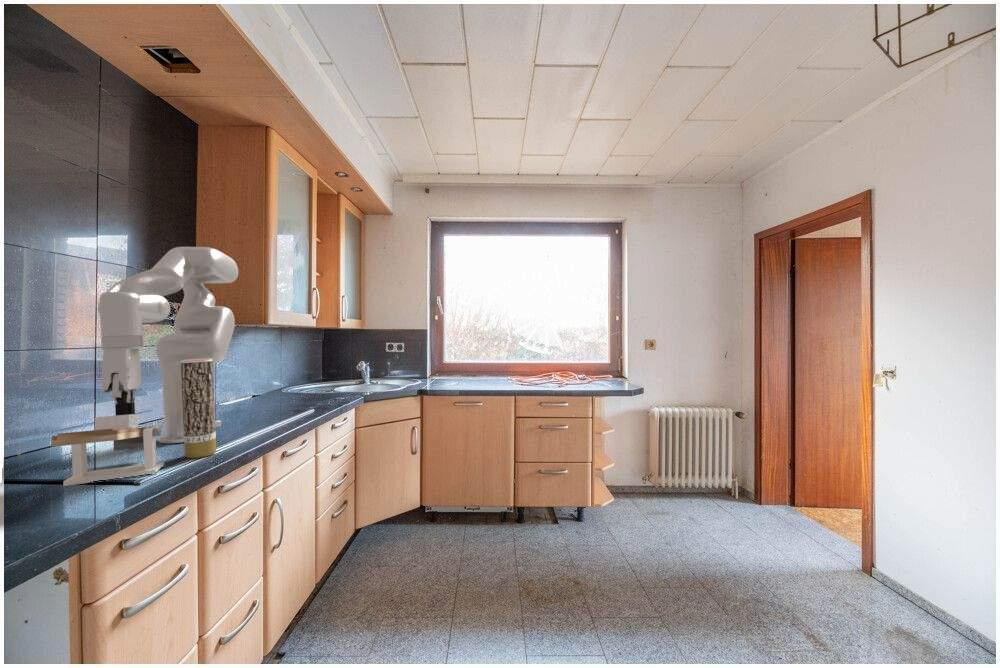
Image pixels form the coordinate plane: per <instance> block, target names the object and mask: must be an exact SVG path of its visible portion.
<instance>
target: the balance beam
mask: <svg viewBox="0 0 1000 668" xmlns="http://www.w3.org/2000/svg"><path fill="white" fill-rule="evenodd" d="M151 427H155V428H161V434H162V433H163V432H162V431H163V425H152V426H145V427H144V426H143V427H139V428H132V429H123V430H114V428H113V429H102V430H95V429H93V430H82V431H73V432H60V433H57V434H56V435H54V436H51V446H50V447H51V448H53V447H63V446H71V445H75V444H84V443H86V444H95V443H102V442H112V441H113V452H115V451H123V450H132V449H142V448H143V449H144V441H143V430H144V429H146V428H151Z"/></svg>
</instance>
